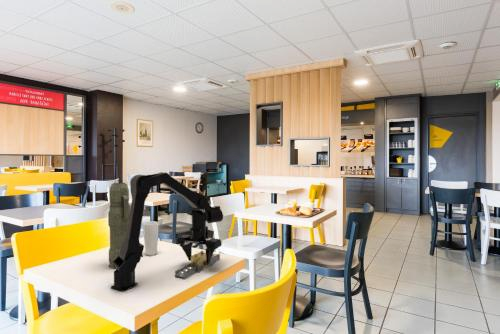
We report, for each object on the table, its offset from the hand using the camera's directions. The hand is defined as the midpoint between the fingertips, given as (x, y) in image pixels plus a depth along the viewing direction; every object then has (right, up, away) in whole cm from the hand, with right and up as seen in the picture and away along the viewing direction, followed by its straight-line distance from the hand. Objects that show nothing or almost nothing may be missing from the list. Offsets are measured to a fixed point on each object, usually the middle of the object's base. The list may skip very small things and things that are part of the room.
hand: (199, 262), depth 127 cm
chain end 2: (+3, -2, +7) cm, 8 cm away
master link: (0, -2, 0) cm, 2 cm away
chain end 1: (-3, -2, -6) cm, 8 cm away
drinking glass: (-26, -2, +18) cm, 32 cm away
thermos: (-34, -3, +3) cm, 34 cm away
